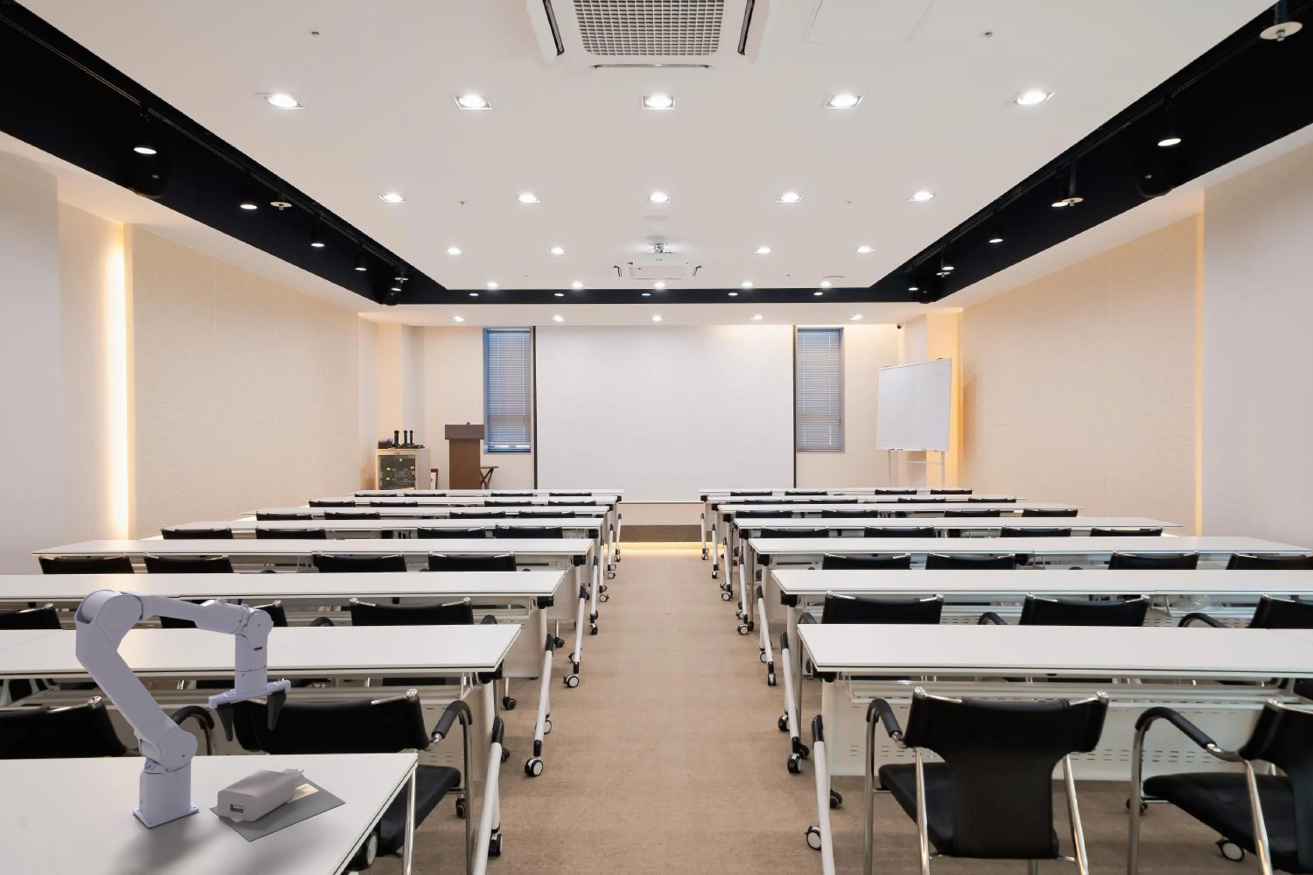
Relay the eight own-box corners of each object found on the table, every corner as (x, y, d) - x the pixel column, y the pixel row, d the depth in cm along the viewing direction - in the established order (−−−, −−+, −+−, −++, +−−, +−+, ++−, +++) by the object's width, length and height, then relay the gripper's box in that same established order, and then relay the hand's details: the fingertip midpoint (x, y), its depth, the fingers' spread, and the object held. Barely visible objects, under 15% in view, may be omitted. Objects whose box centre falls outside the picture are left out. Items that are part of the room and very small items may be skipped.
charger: (318, 784, 140) (256, 822, 125) (282, 778, 142) (217, 815, 128) (319, 760, 140) (257, 795, 125) (282, 755, 142) (217, 789, 128)
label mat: (209, 808, 130) (209, 807, 130) (302, 775, 144) (302, 775, 144) (249, 841, 119) (249, 840, 119) (345, 802, 133) (345, 801, 133)
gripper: (283, 655, 150) (282, 719, 150) (204, 671, 140) (204, 739, 139) (294, 662, 145) (293, 728, 145) (214, 679, 135) (213, 749, 134)
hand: (250, 734), depth 142 cm, fingers open, 7 cm apart
